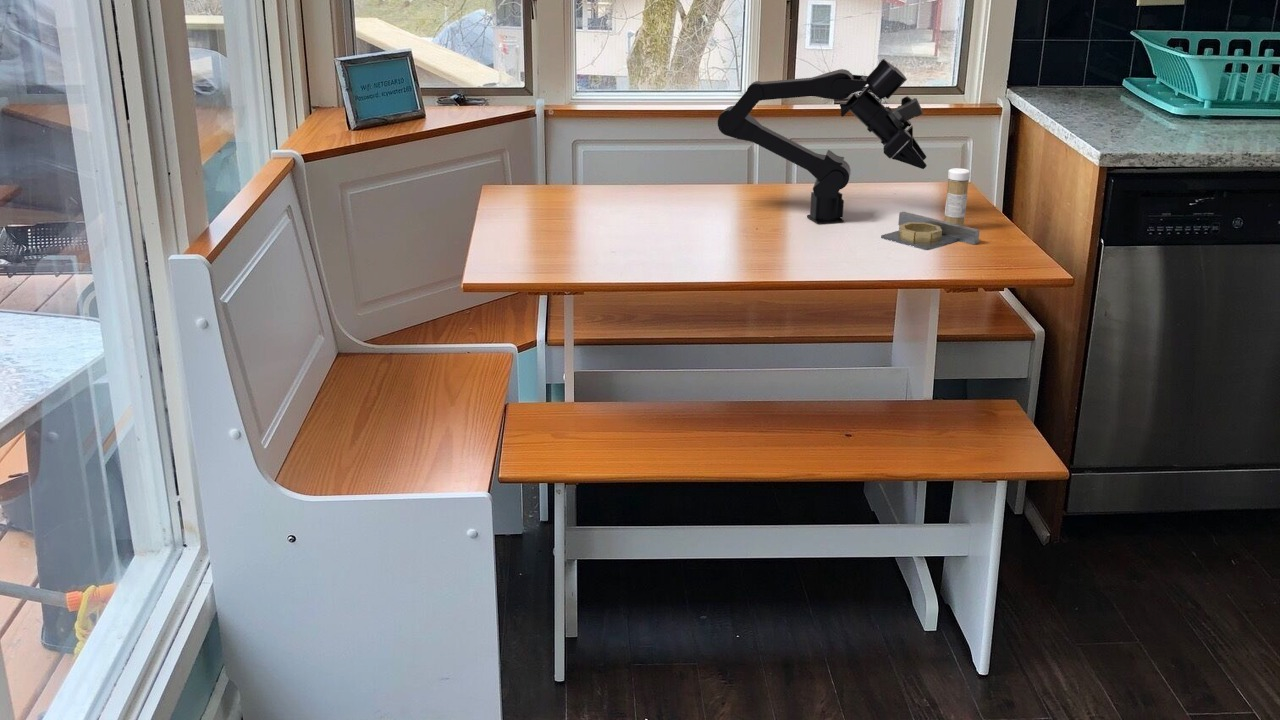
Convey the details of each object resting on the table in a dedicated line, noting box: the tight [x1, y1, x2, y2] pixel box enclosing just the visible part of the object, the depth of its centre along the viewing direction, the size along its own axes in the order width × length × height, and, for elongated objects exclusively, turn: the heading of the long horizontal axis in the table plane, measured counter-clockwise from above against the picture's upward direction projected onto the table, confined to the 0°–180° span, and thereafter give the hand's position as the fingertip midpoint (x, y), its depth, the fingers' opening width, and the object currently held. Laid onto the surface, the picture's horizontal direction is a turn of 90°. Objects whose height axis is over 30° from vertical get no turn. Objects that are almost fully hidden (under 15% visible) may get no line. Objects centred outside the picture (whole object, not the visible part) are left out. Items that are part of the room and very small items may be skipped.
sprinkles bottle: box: [943, 167, 971, 226], centre depth 265 cm, size 5×5×13 cm
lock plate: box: [880, 211, 980, 251], centre depth 260 cm, size 20×12×3 cm, turn 41°
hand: (925, 163), depth 265 cm, fingers open, 9 cm apart
